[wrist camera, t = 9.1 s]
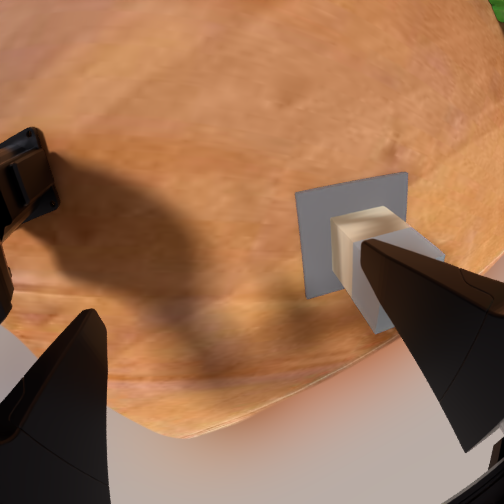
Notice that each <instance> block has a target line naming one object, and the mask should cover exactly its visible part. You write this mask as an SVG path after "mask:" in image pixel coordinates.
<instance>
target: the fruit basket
mask: <svg viewBox="0 0 504 504" xmlns="http://www.w3.org/2000/svg"><path fill="white" fill-rule="evenodd" d="M489 2H490V3H491V4H492V8H493V11H494V13H495V15H496V17H497V20H498V21H500V22H503V23H504V0H489Z"/></svg>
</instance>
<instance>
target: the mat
mask: <svg viewBox="0 0 504 504" xmlns="http://www.w3.org/2000/svg"><path fill="white" fill-rule="evenodd" d="M407 192H408V173H407V172H400V173H394V174H388V175H383V176H377V177H371V178H366V179H360V180H355V181H350V182H345V183H339V184H334V185H329V186H324V187H319V188H314V189H310V190H305V191H300V192H295V199H296V207H297V215H298V224H299V233H300V242H301V252H302V261H303V272H304V283H305V294H306V298H307V299H311V298H314V297H318V296H321V295H325V294H328V293H331V292H335V291H338V290H341V289H345V288H344V286H343V285H342V283H341V282H340V281H339V279H338V278H337V276H336V275H335V273H334V272H333V270H332V246H331V225H330V218H332V217H336V216H341V215H345V214H349V213H354V212H358V211H363V210H367V209H371V208H376V207H380V206H385V207H386V208H388V209H389V210H390V211H392V212H393V213H394V214H396V215H397V216H398V217H400V218H401V219H402V220H404V221H405V222H406V211H407Z"/></svg>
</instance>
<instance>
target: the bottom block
mask: <svg viewBox="0 0 504 504" xmlns="http://www.w3.org/2000/svg"><path fill="white" fill-rule="evenodd" d="M330 225H331V246H332V270H333V272H334V273H335V275H336V276H337V278H338V279H339V281H340V282H341V283H342V285H343V286H344V288H345V289H346V291H347V292H348V294H349V295H350V297H351V298H352V274H353V242H357V241H361V240H364V239H368V238H372V237H376V236H380V235H383V234H387V233H391V232H394V231H398V230H402V229H406V228H409V227H411V226H410V225H409V224H407V223H406V222H405V221H404V220H402V219H401V218H400V217H398V216H397V215H396V214H394V213H393V212H392V211H390V210H389V209H388V208H386V207H385V206H380V207H376V208H371V209H367V210H363V211H358V212H354V213H349V214H345V215H341V216H336V217H332V218H330Z"/></svg>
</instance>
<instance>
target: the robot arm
mask: <svg viewBox="0 0 504 504" xmlns="http://www.w3.org/2000/svg"><path fill="white" fill-rule="evenodd" d="M29 131H31V133H32V135H31V137H30V136H29ZM52 201H54V202H55V204H56V205H53V204H52ZM59 206H60V199H59V197H58V194H57V191H56V189H55V186H54V179H53V176H52V173H51V170H50V167H49V164H48V161H47V158H46V155H45V152H44V150H43V149H42V147H41V144H40V140H39V137H38V133H37V130H36V128H35V127H29V128H26V129H24V130H23V131H21V132H19V133H17V134H16V135H14V136H12V137H11V138H9V139H7V140H6V141H4V142H2V143H1V144H0V324H1V323H2V322H3V321H4V320H5V319H6V317H7V315H8V314H9V312H10V310H11V309H12V304H11V300H12V295H13V291H14V287H13V283H12V279H11V277H12V274H11V270H10V268H9V267H8V265H7V262H6V258H5V255H4V251H3V247H2V243H3V242H4V241H5V240H6V239H7V238H8V237H9V236H10V234H11V233H12V232H13V231H14V230H15V229H16V228H17V227H18V226H19V225H20V224H23V223H25V222H27V221H30V220H32V219H34V218H37V217H39V216H42V215H44V214H46V213H49V212H51V211H54V210H56V209H57V208H58V207H59ZM360 265H361V268H362V270H363V272H364V274H365V276H366V278H367V280H368V282H369V283H370V285H371V287H372V289H373V291H374V293H375V295H376V297H377V299H378V301H379V303H380V304H381V306H382V308H383V309H384V311H385V312H386V314H387V315H388V317H389V318H390V320H391V322H392V323H393V325H394V326H395V328H396V329H397V331H398V333H399V334H400V336H401V338H402V339H403V341H404V342H405V344H406V346H407V347H408V349H409V351H410V352H411V354H412V356H413V357H414V359H415V361H416V362H417V364H418V366H419V367H420V369H421V371H422V373H423V374H424V376H425V378H426V379H427V381H428V383H429V385H430V387H431V388H432V390H433V392H434V394H435V396H436V397H437V399H438V401H439V403H440V405H441V407H442V409H443V411H444V413H445V415H446V416H447V418H448V420H449V422H450V424H451V426H452V428H453V430H454V432H455V434H456V436H457V438H458V440H459V442H460V444H461V446H462V448H463V450H464V452H465V453H467V452H468V451H470V450H471V449H473V448H474V447H475V446H477V445H478V444H479V443H481V442H482V441H483V440H485V439H486V438H487V437H488V436H490V435H491V434H492V433H493V432H495V431H496V430H497V429H498V428H499V427H500V429H501V430H502V432H503V434H504V283H503V282H500V281H497V280H493V279H490V278H487V277H484V276H481V275H478V274H475V273H473V272H470V271H467V270H464V269H462V268H460V269H459V268H458V267H456V266H453V265H451V264H448V263H445V262H442V261H439V260H436V259H434V258H431V257H428V256H425V255H422V254H419V253H416V252H413V251H410V250H407V249H404V248H401V247H398V246H395V245H392V244H389V243H386V242H383V241H380V240H377V239H374V238H371V239H368V240H364V241H362V243H361V253H360ZM107 379H108V360H107V330H106V327H105V325H104V323H103V321H102V320H101V318H100V317H99V315H98V313H97V312H96V310H95V309H93V308H91V309H86V310H83V311H82V312H81V313H80V314H79V315H78V316H77V317H76V318H75V319H74V320H73V321H72V322H71V323H70V324H69V325H68V327H67V328H66V329H65V330H64V331H63V332H62V333H61V334H60V335H59V336H58V337H57V339H56V340H55V341H54V342H53V343H52V344H51V345H50V346H49V347H48V349H47V350H46V351H45V352H44V353H43V354H42V355H41V356H40V358H39V359H38V360H37V361H36V362H35V363H34V365H33V366H32V367H31V368H30V369H29V371H28V372H27V373H26V374H25V375H24V377H23V378H22V379H21V380H20V381H19V382H18V384H17V385H16V386H15V387H14V388H13V390H12V391H11V392H10V393H9V394H8V396H7V397H6V398H5V399H4V400H3V401H2V402H1V403H0V504H111V501H110V491H109V486H108V485H109V481H108V466H107V440H106V406H107ZM442 504H504V437H503V438H502V439H501V440H499V441H498V442H497V443H496V444H495V445H494V446H493V451H492V455H491V460H490V464H489V468H488V471H487V472H486V473H484V474H483V475H482V476H481V477H480V478H478V479H477V480H475V481H474V482H473V483H471V484H470V485H469V486H467V487H466V488H464V489H463V490H462V491H460V492H459V493H457V494H456V495H454V496H453V497H451V498H450V499H448V500H447V501H445V502H444V503H442Z"/></svg>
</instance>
